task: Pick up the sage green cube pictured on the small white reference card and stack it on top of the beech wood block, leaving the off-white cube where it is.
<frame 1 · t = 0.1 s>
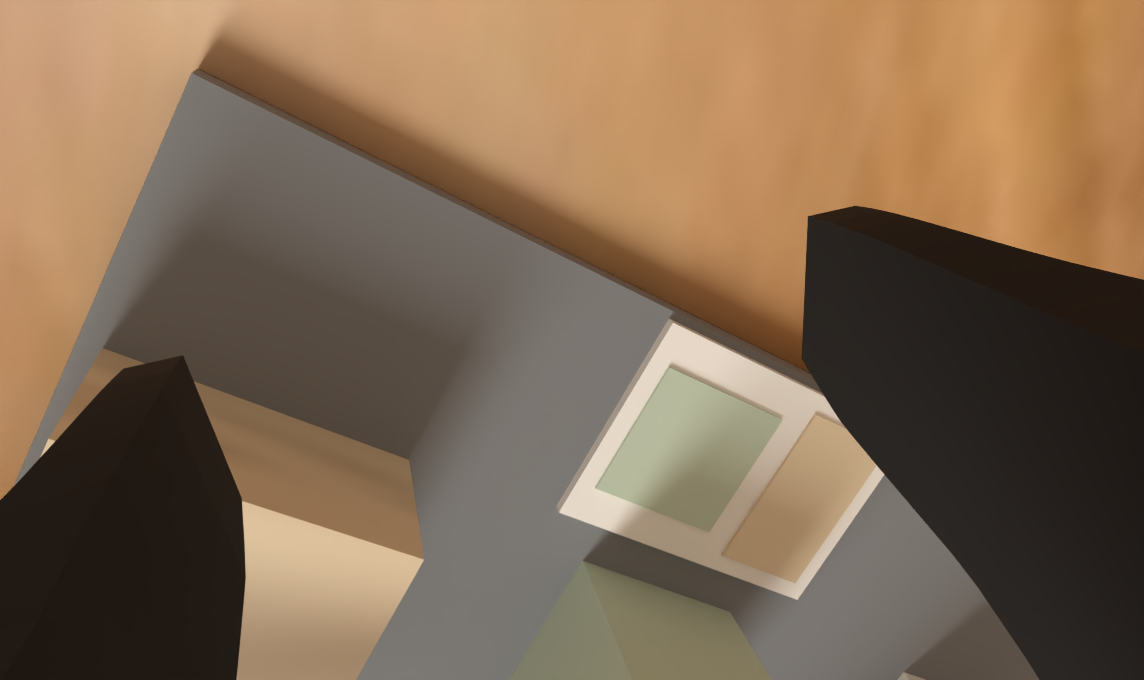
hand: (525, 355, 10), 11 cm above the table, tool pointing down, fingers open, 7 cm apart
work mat: (632, 597, 26), on the table
base block: (203, 533, 21), point 1 cm above the table, touching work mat
reference card: (736, 468, 24), resting on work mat
sage cube: (613, 657, 25), point 1 cm above the table, touching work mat
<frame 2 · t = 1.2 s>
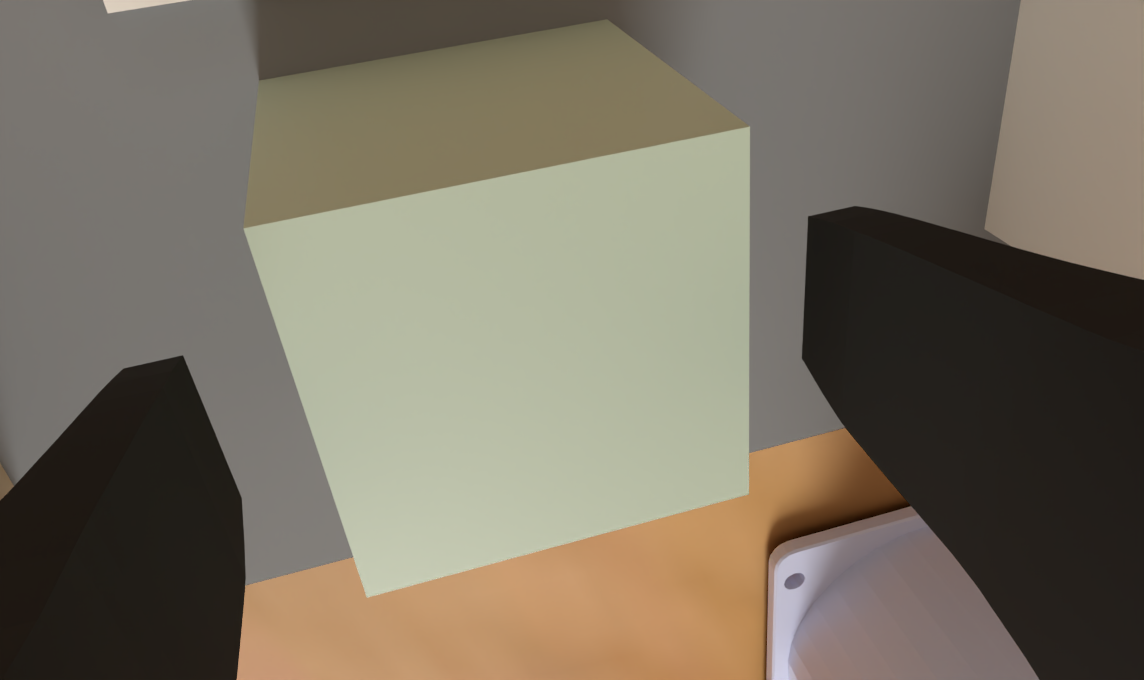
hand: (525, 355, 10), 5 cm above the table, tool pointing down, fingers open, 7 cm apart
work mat: (443, 101, 14), on the table
offwhite cube: (1129, 73, 16), point 1 cm above the table, touching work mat
sage cube: (467, 209, 14), point 1 cm above the table, touching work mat
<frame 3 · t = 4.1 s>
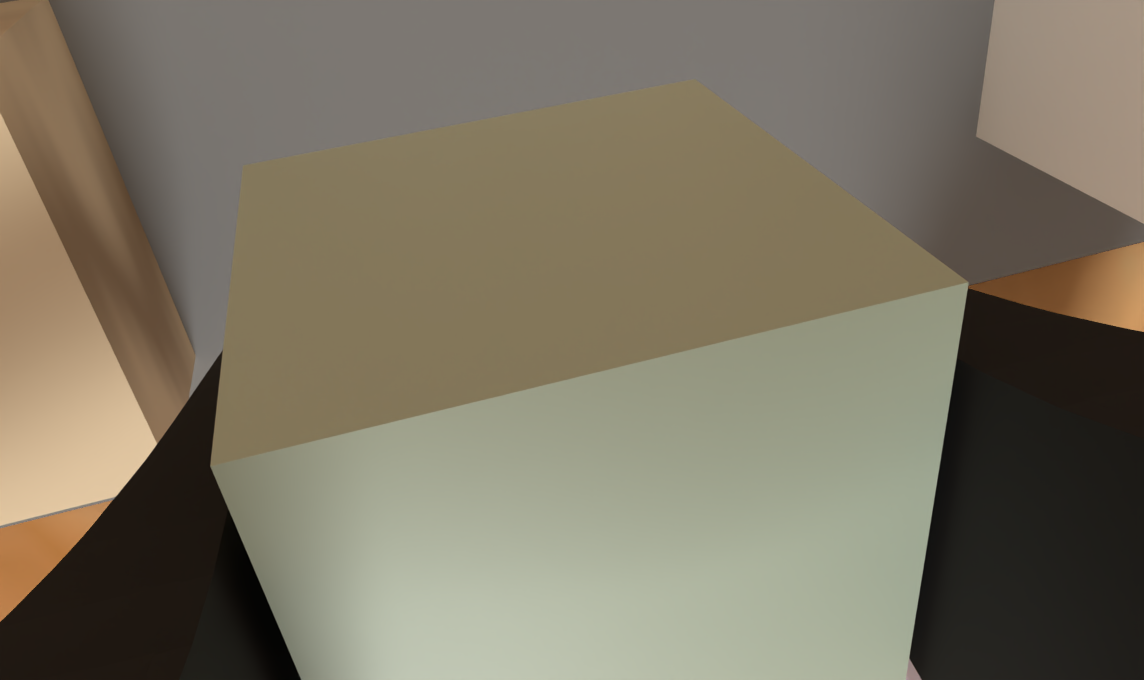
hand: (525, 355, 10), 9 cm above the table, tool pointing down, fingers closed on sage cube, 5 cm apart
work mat: (537, 22, 17), on the table
offwhite cube: (1095, 2, 19), point 1 cm above the table, touching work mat
sage cube: (510, 315, 11), point 8 cm above the table, touching gripper
when the fingers open (7 cm above the table, at t = 5.9 s): sage cube stays where it is, resting on base block.
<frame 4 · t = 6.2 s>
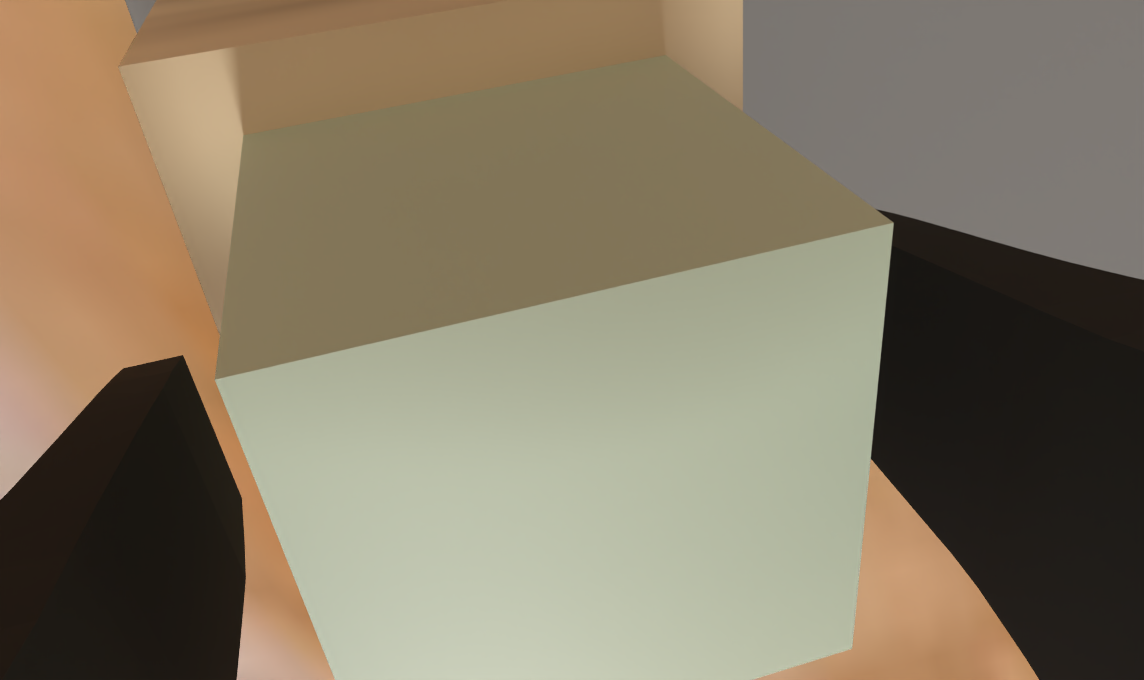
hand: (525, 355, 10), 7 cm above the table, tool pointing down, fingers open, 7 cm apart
base block: (450, 174, 15), point 1 cm above the table, touching sage cube, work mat
sage cube: (495, 279, 12), point 5 cm above the table, touching base block
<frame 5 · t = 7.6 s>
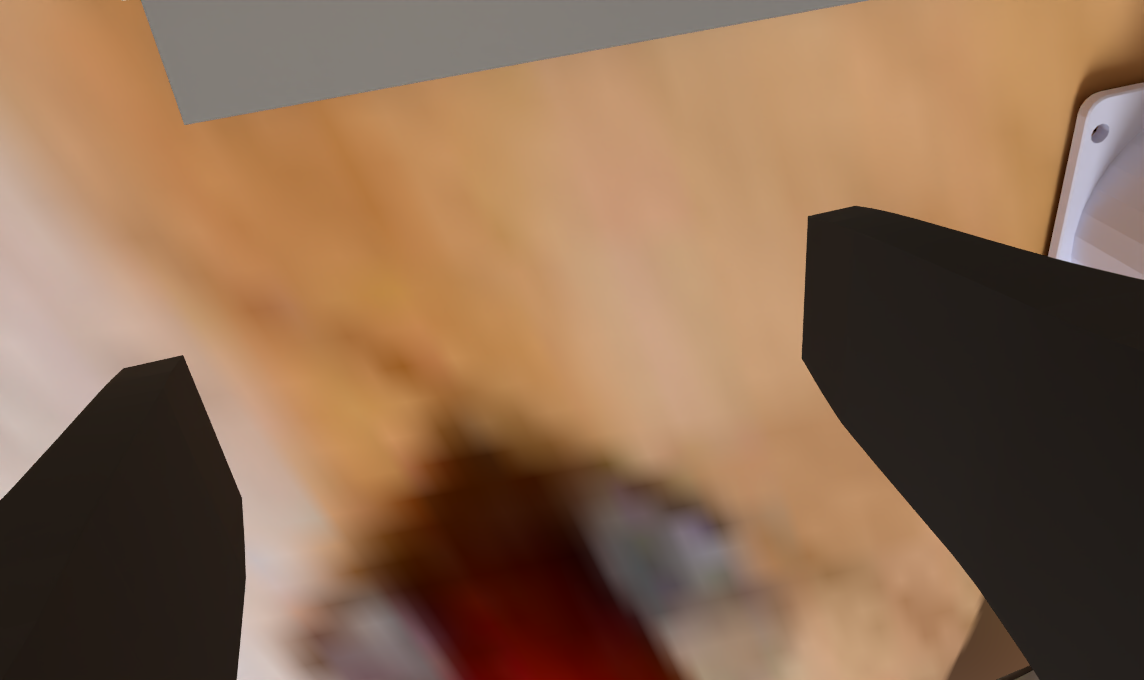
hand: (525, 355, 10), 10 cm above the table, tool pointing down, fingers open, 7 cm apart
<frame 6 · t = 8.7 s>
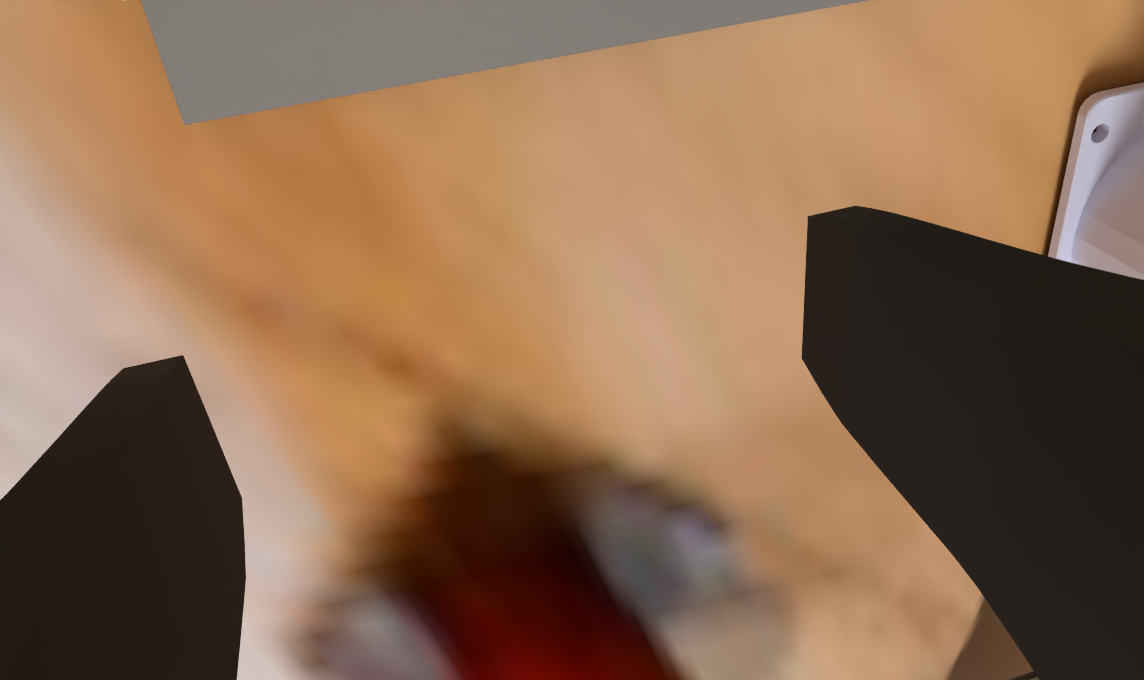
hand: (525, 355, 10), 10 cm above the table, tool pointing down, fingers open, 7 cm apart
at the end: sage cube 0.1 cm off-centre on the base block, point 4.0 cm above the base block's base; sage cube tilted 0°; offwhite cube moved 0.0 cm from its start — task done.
